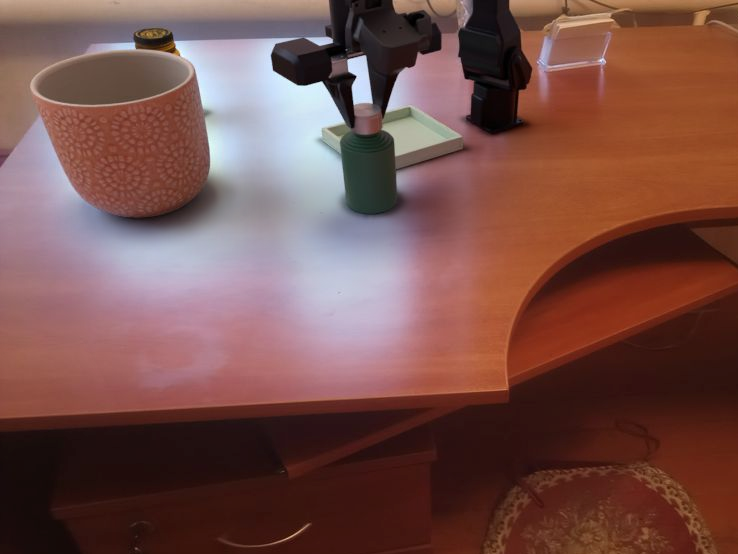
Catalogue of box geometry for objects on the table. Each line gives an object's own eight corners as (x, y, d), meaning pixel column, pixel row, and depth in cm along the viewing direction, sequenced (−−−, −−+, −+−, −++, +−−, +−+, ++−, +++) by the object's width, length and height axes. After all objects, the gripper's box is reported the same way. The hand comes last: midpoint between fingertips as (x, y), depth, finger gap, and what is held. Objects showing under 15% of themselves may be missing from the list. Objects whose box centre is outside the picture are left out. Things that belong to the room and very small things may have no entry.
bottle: (388, 184, 94) (383, 102, 87) (404, 208, 90) (400, 123, 82) (340, 193, 92) (331, 109, 85) (353, 217, 88) (345, 132, 80)
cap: (368, 118, 87) (367, 100, 85) (388, 128, 85) (387, 110, 83) (343, 127, 85) (341, 109, 83) (363, 138, 83) (361, 119, 81)
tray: (411, 116, 110) (411, 104, 109) (462, 148, 103) (463, 136, 101) (322, 140, 103) (321, 128, 102) (370, 177, 96) (369, 164, 94)
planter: (64, 241, 82) (13, 111, 72) (87, 171, 95) (45, 52, 85) (220, 226, 85) (191, 100, 76) (222, 161, 98) (197, 45, 88)
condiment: (206, 113, 109) (188, 30, 102) (164, 133, 104) (142, 47, 96) (170, 103, 112) (149, 21, 104) (127, 122, 106) (102, 37, 98)
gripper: (317, 13, 65) (334, 172, 75) (475, -20, 74) (471, 126, 84) (257, -16, 71) (280, 135, 81) (410, -43, 80) (413, 95, 91)
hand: (365, 123), depth 84 cm, fingers closed on cap, 4 cm apart
